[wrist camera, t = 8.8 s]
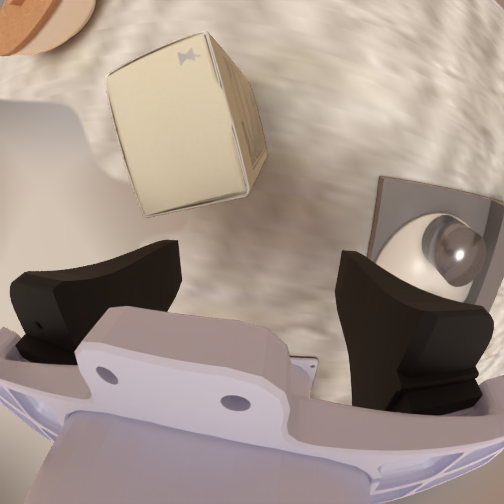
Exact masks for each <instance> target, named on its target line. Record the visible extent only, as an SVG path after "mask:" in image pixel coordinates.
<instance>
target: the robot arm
mask: <svg viewBox="0 0 504 504" xmlns="http://www.w3.org/2000/svg"><path fill="white" fill-rule="evenodd" d="M181 282H182V274H181V265H180V256H179V246H178V240H162V241H158V242H155V243H152V244H150V245H147V246H145V247H142V248H140V249H137V250H135V251H132V252H129V253H127V254H124V255H121V256H119V257H116V258H113V259H110V260H107V261H104V262H100V263H97V264H93V265H88V266H83V267H78V268H73V269H66V270H57V271H28V272H24V273H23V274H22V275H21V276H20V277H18V278H17V279H16V280H14V281H13V282H12V283H11V286H10V298H11V302H12V305H13V307H14V310H15V312H16V314H17V317H18V319H19V321H20V323H21V325H22V327H23V329H24V331H25V333H26V334H25V335H24V336H23V337H22V338H21V337H20V336H19V335H18V334H17V333H15V332H13V331H11V330H9V329H7V328H5V327H3V328H2V329H0V403H1V404H2V405H3V406H4V407H6V408H7V409H8V410H10V411H11V412H12V413H13V414H14V415H16V416H17V417H18V418H19V419H21V420H22V421H23V422H25V423H26V424H27V425H29V426H30V427H31V428H32V429H34V430H35V431H36V432H38V433H39V434H41V435H42V436H43V437H45V438H46V439H47V440H49V441H50V442H52V443H53V446H52V447H51V449H50V451H49V453H48V455H47V457H46V458H45V460H44V462H43V464H42V466H41V468H40V470H39V472H38V474H37V476H36V478H35V480H34V482H33V484H32V486H31V488H30V490H29V492H28V494H27V496H26V499H25V501H24V503H23V504H381V503H385V502H389V501H392V500H396V499H399V498H402V497H406V496H409V495H412V494H415V493H418V492H421V491H424V490H427V489H429V488H432V487H434V486H437V485H439V484H442V483H444V482H447V481H449V480H452V479H454V478H456V477H459V476H461V475H463V474H465V473H467V472H470V471H472V470H474V469H476V468H478V467H480V466H482V465H484V464H486V463H488V462H489V461H490V460H491V459H492V458H494V457H495V456H496V455H498V454H499V453H500V452H501V451H502V450H503V449H504V375H502V376H499V377H495V378H492V379H488V380H486V381H484V382H482V383H481V384H480V385H479V386H478V384H477V382H476V380H475V378H477V377H478V375H479V372H478V370H477V368H476V367H475V366H476V364H477V363H478V361H479V360H480V358H481V356H482V355H483V353H484V351H485V350H486V348H487V346H488V344H489V342H490V340H491V338H492V334H493V330H494V321H493V319H492V317H491V315H490V314H489V313H488V312H487V310H486V309H485V308H484V307H483V306H480V305H474V304H469V303H463V302H458V301H455V300H451V299H447V298H444V297H441V296H438V295H435V294H432V293H429V292H427V291H424V290H422V289H420V288H417V287H415V286H413V285H411V284H409V283H407V282H405V281H403V280H401V279H399V278H398V277H396V276H394V275H393V274H391V273H389V272H388V271H386V270H385V269H383V268H382V267H380V266H379V265H377V264H376V263H374V262H373V261H371V260H370V259H368V258H367V257H365V256H364V255H362V254H360V253H358V252H356V251H344V250H342V254H341V260H340V266H339V272H338V277H337V283H336V288H335V297H336V305H337V311H338V315H339V319H340V322H341V326H342V330H343V334H344V337H345V341H346V345H347V350H348V355H349V363H350V373H351V387H352V406H349V405H343V404H338V403H333V402H328V401H324V400H319V399H314V398H310V391H311V387H312V384H313V380H314V377H315V373H316V369H317V366H318V360H317V359H315V358H294V357H290V356H289V351H288V347H287V345H286V344H285V343H284V342H283V341H282V340H280V339H279V338H278V337H277V336H276V335H275V334H273V333H272V332H271V331H270V330H269V329H267V328H263V327H260V326H256V325H253V324H249V323H246V322H242V321H238V320H228V319H218V318H209V317H200V316H192V315H184V314H177V313H169V312H167V311H168V309H169V308H170V306H171V304H172V302H173V301H174V299H175V297H176V295H177V292H178V290H179V287H180V285H181ZM312 365H313V366H312Z"/></svg>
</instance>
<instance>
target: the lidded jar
mask: <svg viewBox="0 0 504 504" xmlns="http://www.w3.org/2000/svg"><path fill="white" fill-rule="evenodd" d="M95 6H96V0H6V1H5V3H4V5H3V6H2V8H1V10H0V56H10V55H33V54H38V53H43V52H46V51H49V50H51V49H53V48H55V47H57V46H59V45H61V44H62V43H64V42H65V41H67V40H68V39H70V38H71V37H73V36H74V35H76V34H77V33H78V32H79V31H80V30H81V29H82V28H83V27H84V26H85V25H86V24H87V22H88V21H89V19H90V18H91V16H92V14H93V12H94V10H95Z"/></svg>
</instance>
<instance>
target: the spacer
mask: <svg viewBox="0 0 504 504" xmlns="http://www.w3.org/2000/svg"><path fill="white" fill-rule="evenodd" d="M422 251H423V254H424V256H425V257H426V259H427V260H428V261H429V262H430V263H431V264H432V265H433V266H434V267H435V269H436V270H437V271H438V272H439V273H440V274H441V275H442V277H443V278H444V279H445V280H446V281H447V282H448V283H449V284H450V285H451V286H454V287H461V286H464V285H467V284H469V283H470V282H471V281H473V280H474V279H475V278H476V277H477V275H478V274H479V273H480V271H481V269H482V267H483V265H484V262H485V259H486V244H485V241H484V239H483V238H482V236H481V235H479V234H478V233H476V232H475V231H474V230H472V229H471V228H469V227H468V226H466V225H465V224H463V223H462V222H460V221H459V220H457V219H456V218H454V217H453V216H450V215H441V216H438V217H436V218H435V219H434V220H432V221H431V222H430V223H429V225H428V226H427V228H426V229H425V231H424V234H423V237H422Z"/></svg>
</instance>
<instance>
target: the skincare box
mask: <svg viewBox="0 0 504 504" xmlns="http://www.w3.org/2000/svg"><path fill="white" fill-rule="evenodd" d="M105 85H106V93H107V98H108V104H109V108H110V113H111V118H112V122H113V126H114V130H115V133H116V137H117V141H118V144H119V148H120V151H121V154H122V158H123V161H124V164H125V167H126V170H127V173H128V176H129V179H130V182H131V185H132V187H133V190H134V193H135V196H136V199H137V201H138V204H139V206H140V209H141V212H142V214H143V216H144V217H145V218H150V217H154V216H158V215H163V214H168V213H173V212H178V211H183V210H188V209H193V208H197V207H202V206H206V205H212V204H216V203H221V202H225V201H230V200H235V199H240V198H244V197H246V196H248V195H249V193H250V191H251V188H252V186H253V184H254V182H255V180H256V178H257V176H258V174H259V172H260V170H261V168H262V166H263V163H264V161H265V159H266V157H267V155H268V152H267V147H266V142H265V138H264V134H263V129H262V125H261V121H260V118H259V114H258V110H257V106H256V103H255V99H254V96H253V93H252V90H251V86H250V84H249V82H248V80H247V79H246V78H245V76H244V75H243V74H242V73H241V71H240V70H239V69H238V67H237V66H236V65H235V64H234V62H233V61H232V60H231V59H230V57H229V56H228V55H227V54H226V53H225V51H224V50H223V49H222V48H221V47H220V45H219V44H218V43H217V42H216V41H215V39H214V38H213V37H212V36H211V35H210V34H209V33H208V32H207V31H201V32H198V33H194V34H192V35H189V36H186V37H183V38H180V39H177V40H175V41H173V42H170V43H167V44H164V45H162V46H160V47H158V48H155V49H153V50H151V51H148V52H146V53H144V54H142V55H140V56H138V57H136V58H134V59H132V60H130V61H128V62H126V63H125V64H123V65H121V66H120V67H118V68H116V69H115V70H113V71H111V72H110V73H108V74H107V75H106V76H105Z"/></svg>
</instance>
